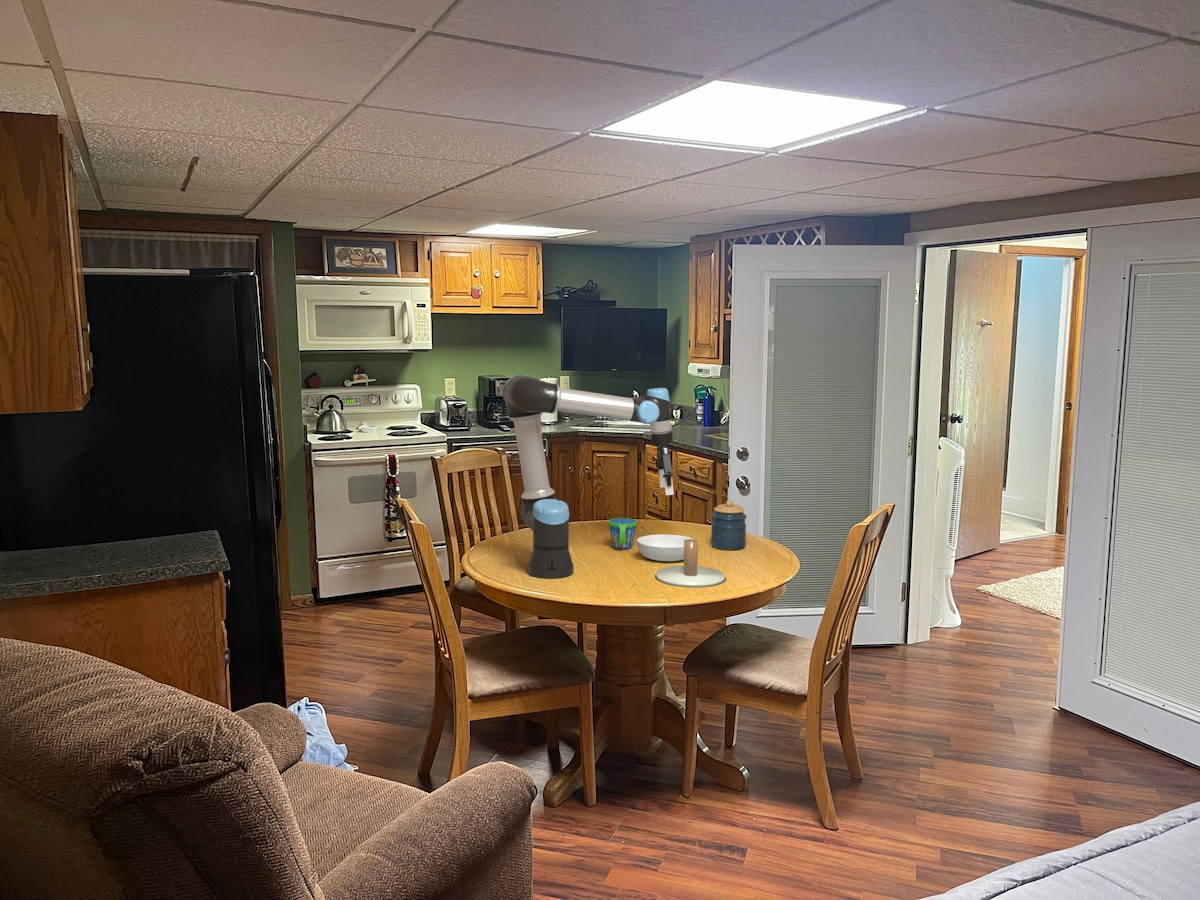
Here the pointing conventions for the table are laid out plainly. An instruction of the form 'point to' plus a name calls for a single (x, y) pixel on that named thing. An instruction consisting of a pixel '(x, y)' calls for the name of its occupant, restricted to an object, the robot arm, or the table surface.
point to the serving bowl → (662, 547)
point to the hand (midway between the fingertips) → (666, 490)
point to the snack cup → (622, 532)
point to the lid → (690, 570)
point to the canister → (728, 526)
